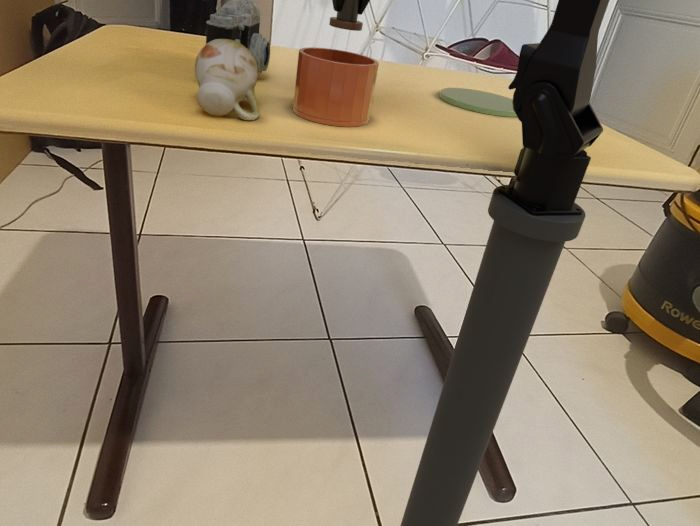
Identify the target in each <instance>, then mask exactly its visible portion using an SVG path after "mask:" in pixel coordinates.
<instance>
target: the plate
mask: <svg viewBox="0 0 700 526" xmlns="http://www.w3.org/2000/svg"><path fill="white" fill-rule="evenodd" d="M439 98H440V99H441V100H443V101H444V102H445V103H448V104H450V105H452V106H454V107H455V106H456V107H458V108H460V109H464V110H468V111H472V112H475V113H480V114H485V115H492V116H498V117H508V118H516V117H517V115H516V113H515V111H514V110H513V104H512V102H513V98H510V97H508V96H504V95H501V94H497V93H493V92H489V91H484V90H477V89H472V88H464V87H445V88H442V89H440V92H439ZM517 118H518V117H517Z"/></svg>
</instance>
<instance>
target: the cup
mask: <svg viewBox="0 0 700 526" xmlns="http://www.w3.org/2000/svg"><path fill="white" fill-rule="evenodd" d="M379 65H380V63H379V61H378V60H376V59H374V58H372V57H370V56H367V55H363V54H360V53H357V52H352V51H347V50H341V49H334V48H328V47H327V48H325V47H314V46H313V47H302V48H299V49H298V57H297V65H296V76H295V85H294V95H293V103H292V111H293V113H294V114H295V115H297V116H298V117H300V118H301V119H304V120H308V121H309V122H312V123H318V124H322V125H327V126H334V127H342V128H343V127H347V128H348V127H349V128H350V127H353V128H354V127H361V126H365V125H367V124H368V123H369V122H370V121H369V120H370V117H371V112H372V106H373V105H372V104H373V99H374V94H375V88H376V82H377V77H378V70H379Z"/></svg>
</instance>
